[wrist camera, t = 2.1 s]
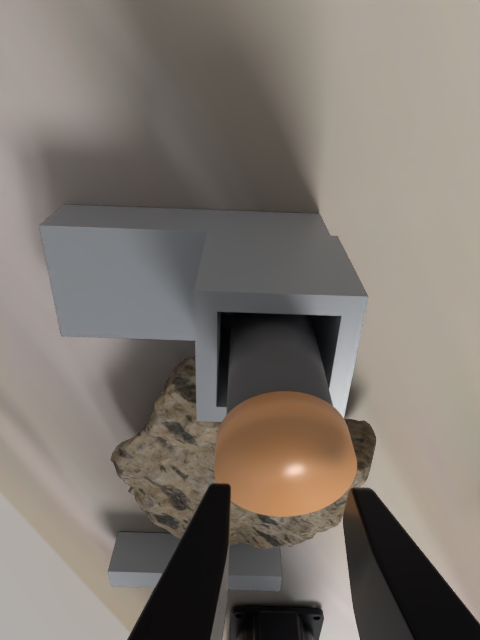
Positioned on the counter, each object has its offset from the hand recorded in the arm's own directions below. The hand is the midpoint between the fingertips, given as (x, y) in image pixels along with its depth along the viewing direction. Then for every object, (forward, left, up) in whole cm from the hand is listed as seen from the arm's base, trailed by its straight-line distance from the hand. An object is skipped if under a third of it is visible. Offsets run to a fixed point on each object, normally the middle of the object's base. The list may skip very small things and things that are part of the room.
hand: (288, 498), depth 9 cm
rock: (-10, +1, -12) cm, 16 cm away
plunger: (0, 0, -6) cm, 6 cm away
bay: (-9, +3, -12) cm, 15 cm away
